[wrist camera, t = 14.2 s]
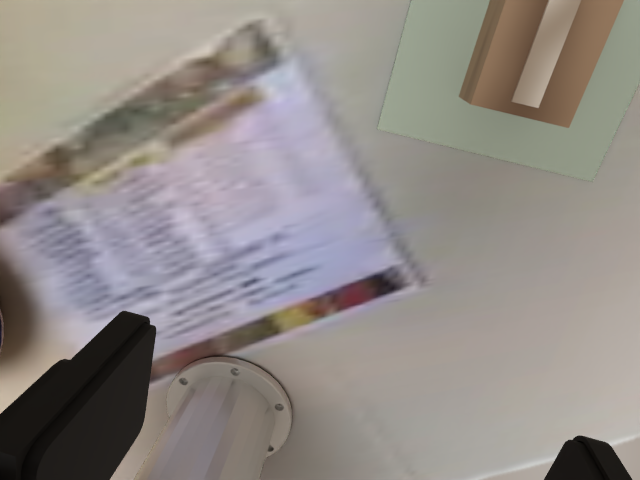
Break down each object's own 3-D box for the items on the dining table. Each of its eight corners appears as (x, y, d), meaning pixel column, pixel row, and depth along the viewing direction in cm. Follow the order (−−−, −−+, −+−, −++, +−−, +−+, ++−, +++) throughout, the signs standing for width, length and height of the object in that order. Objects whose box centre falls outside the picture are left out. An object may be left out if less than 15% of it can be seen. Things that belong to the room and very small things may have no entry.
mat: (590, 180, 34) (592, 182, 34) (377, 128, 35) (377, 129, 34) (709, -74, 28) (714, -76, 27) (446, -133, 28) (447, -135, 28)
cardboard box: (601, -29, 29) (644, -44, 24) (543, 116, 32) (570, 128, 28) (506, -50, 29) (530, -70, 24) (458, 96, 33) (471, 104, 28)
